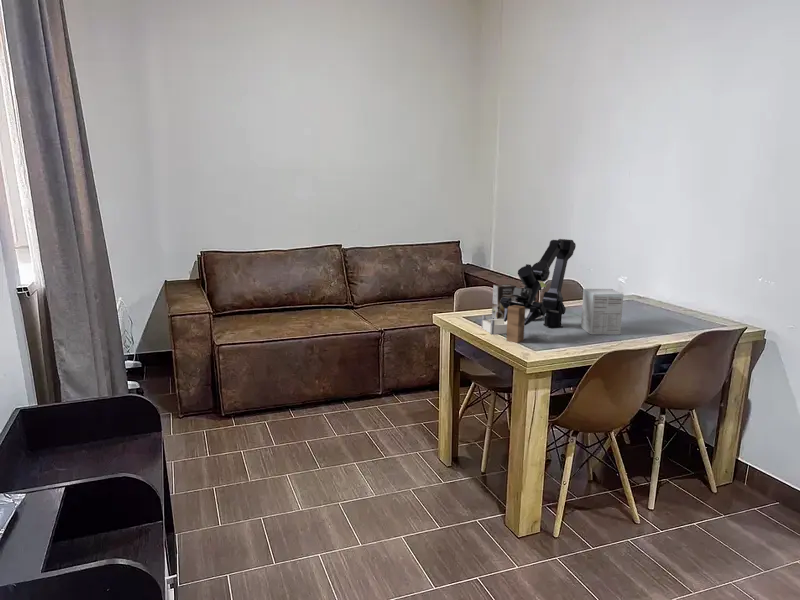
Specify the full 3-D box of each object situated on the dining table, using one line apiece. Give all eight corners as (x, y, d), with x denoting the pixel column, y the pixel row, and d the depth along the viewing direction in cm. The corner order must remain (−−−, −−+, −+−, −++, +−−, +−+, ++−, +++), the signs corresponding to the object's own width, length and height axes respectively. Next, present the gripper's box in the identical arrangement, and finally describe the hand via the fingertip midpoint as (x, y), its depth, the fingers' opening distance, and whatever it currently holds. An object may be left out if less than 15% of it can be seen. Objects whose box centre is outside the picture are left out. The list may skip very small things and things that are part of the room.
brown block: (512, 338, 246) (514, 305, 243) (523, 340, 243) (525, 306, 240) (506, 340, 243) (507, 306, 240) (517, 343, 239) (518, 308, 237)
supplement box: (621, 335, 253) (624, 294, 250) (589, 334, 253) (592, 294, 250) (609, 327, 266) (612, 288, 263) (580, 327, 266) (582, 288, 263)
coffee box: (497, 321, 276) (498, 286, 273) (491, 318, 282) (492, 284, 279) (515, 320, 279) (516, 285, 276) (509, 317, 285) (510, 283, 282)
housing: (504, 326, 266) (505, 314, 264) (515, 333, 255) (516, 319, 254) (481, 328, 263) (481, 315, 262) (491, 334, 252) (491, 320, 251)
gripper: (503, 277, 247) (487, 307, 241) (544, 282, 235) (529, 314, 229) (512, 293, 255) (497, 323, 249) (552, 299, 243) (537, 331, 237)
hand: (514, 322), depth 241 cm, fingers open, 9 cm apart
